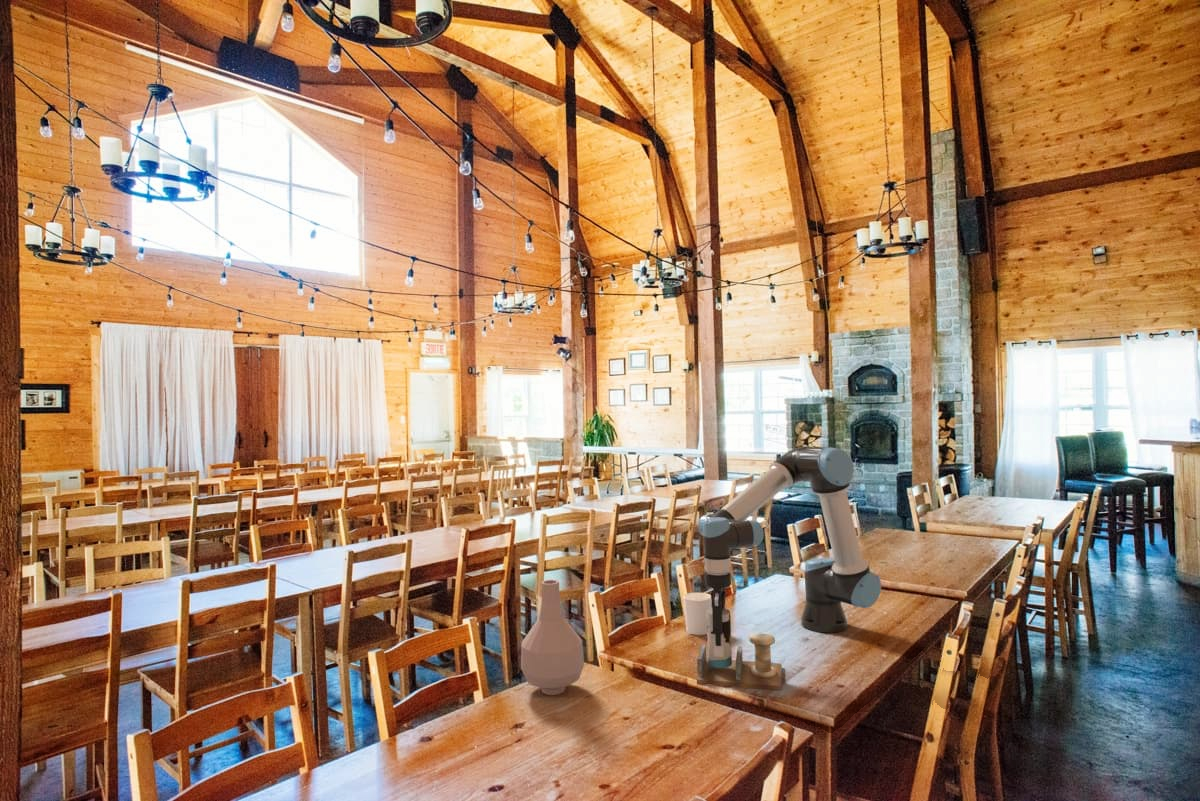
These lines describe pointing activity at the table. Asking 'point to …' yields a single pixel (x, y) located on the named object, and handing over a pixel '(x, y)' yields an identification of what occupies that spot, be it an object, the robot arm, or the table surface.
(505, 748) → the table surface
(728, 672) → the winding board
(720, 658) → the cup
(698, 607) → the candle holder
